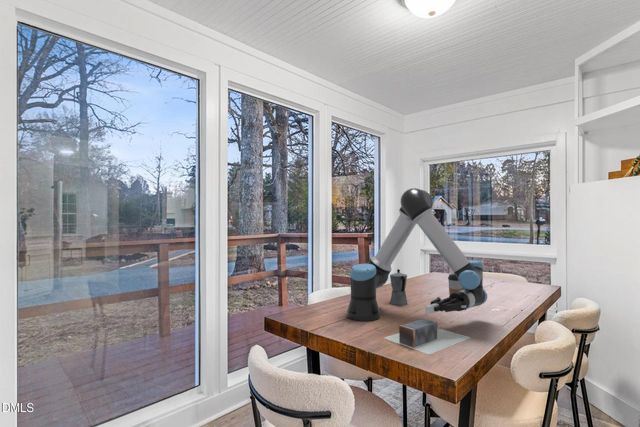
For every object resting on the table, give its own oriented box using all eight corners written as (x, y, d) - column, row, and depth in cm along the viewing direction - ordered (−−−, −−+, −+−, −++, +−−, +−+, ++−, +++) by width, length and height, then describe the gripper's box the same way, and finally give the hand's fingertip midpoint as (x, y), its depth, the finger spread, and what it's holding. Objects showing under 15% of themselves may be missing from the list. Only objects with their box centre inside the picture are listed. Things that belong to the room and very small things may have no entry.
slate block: (437, 339, 126) (413, 347, 118) (423, 334, 131) (399, 342, 123) (437, 322, 126) (413, 329, 118) (423, 318, 131) (399, 325, 123)
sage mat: (429, 356, 112) (429, 354, 112) (383, 339, 128) (383, 337, 128) (471, 338, 127) (471, 337, 127) (425, 325, 143) (425, 324, 143)
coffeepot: (386, 300, 188) (386, 267, 188) (403, 300, 189) (402, 267, 189) (395, 307, 173) (395, 272, 173) (413, 307, 174) (413, 271, 174)
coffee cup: (450, 301, 186) (450, 273, 186) (466, 303, 181) (466, 274, 182) (446, 304, 179) (445, 275, 180) (463, 306, 174) (462, 277, 175)
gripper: (476, 313, 136) (442, 324, 122) (447, 306, 147) (412, 316, 132) (476, 294, 136) (442, 303, 122) (446, 289, 147) (412, 296, 132)
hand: (426, 310), depth 127 cm, fingers closed
